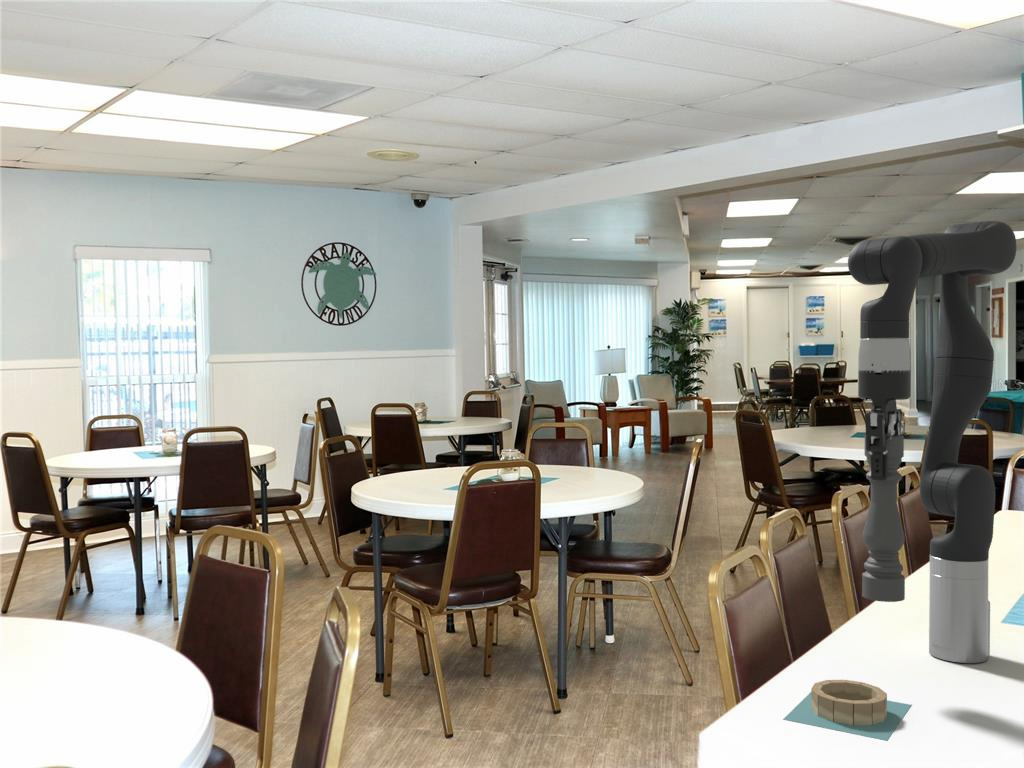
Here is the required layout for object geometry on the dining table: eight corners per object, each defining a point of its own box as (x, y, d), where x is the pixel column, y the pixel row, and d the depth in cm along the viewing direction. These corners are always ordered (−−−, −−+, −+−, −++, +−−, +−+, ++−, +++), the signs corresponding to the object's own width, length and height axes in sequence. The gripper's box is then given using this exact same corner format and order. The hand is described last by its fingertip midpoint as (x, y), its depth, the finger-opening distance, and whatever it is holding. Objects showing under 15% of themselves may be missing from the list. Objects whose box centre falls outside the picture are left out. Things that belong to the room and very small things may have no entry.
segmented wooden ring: (842, 695, 145) (842, 675, 145) (900, 715, 137) (901, 694, 137) (797, 708, 140) (797, 687, 140) (855, 730, 132) (855, 708, 132)
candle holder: (878, 603, 145) (879, 437, 144) (853, 593, 151) (854, 434, 150) (913, 600, 147) (914, 436, 146) (887, 590, 153) (888, 433, 152)
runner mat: (815, 689, 149) (815, 687, 149) (911, 707, 141) (911, 704, 141) (783, 722, 136) (783, 719, 136) (887, 743, 128) (887, 740, 128)
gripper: (870, 367, 156) (869, 471, 156) (847, 368, 144) (846, 481, 144) (919, 367, 152) (919, 474, 152) (900, 368, 140) (899, 484, 140)
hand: (883, 477), depth 148 cm, fingers closed on candle holder, 5 cm apart
